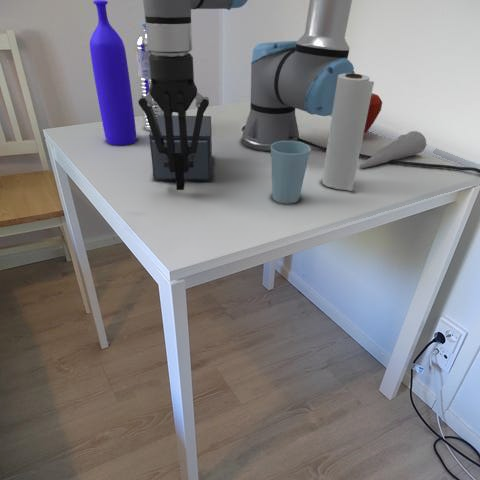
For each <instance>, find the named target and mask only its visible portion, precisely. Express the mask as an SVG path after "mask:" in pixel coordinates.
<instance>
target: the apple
mask: <svg viewBox="0 0 480 480" xmlns="http://www.w3.org/2000/svg"><path fill="white" fill-rule="evenodd" d="M382 107H383V101H382V99H381V97H380V96H379V95H378V94H377V93H373V92H372V95H371V99H370V104H369V109H368V114H367V119H366V124H365V129H364V134H363V135H365V134H366V133H367V132H369V130H370V128H371V127H372V125H373V124H374V123H375V122H376V120H377V118H378V116H379V114H380V113H381V111H382Z"/></svg>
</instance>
